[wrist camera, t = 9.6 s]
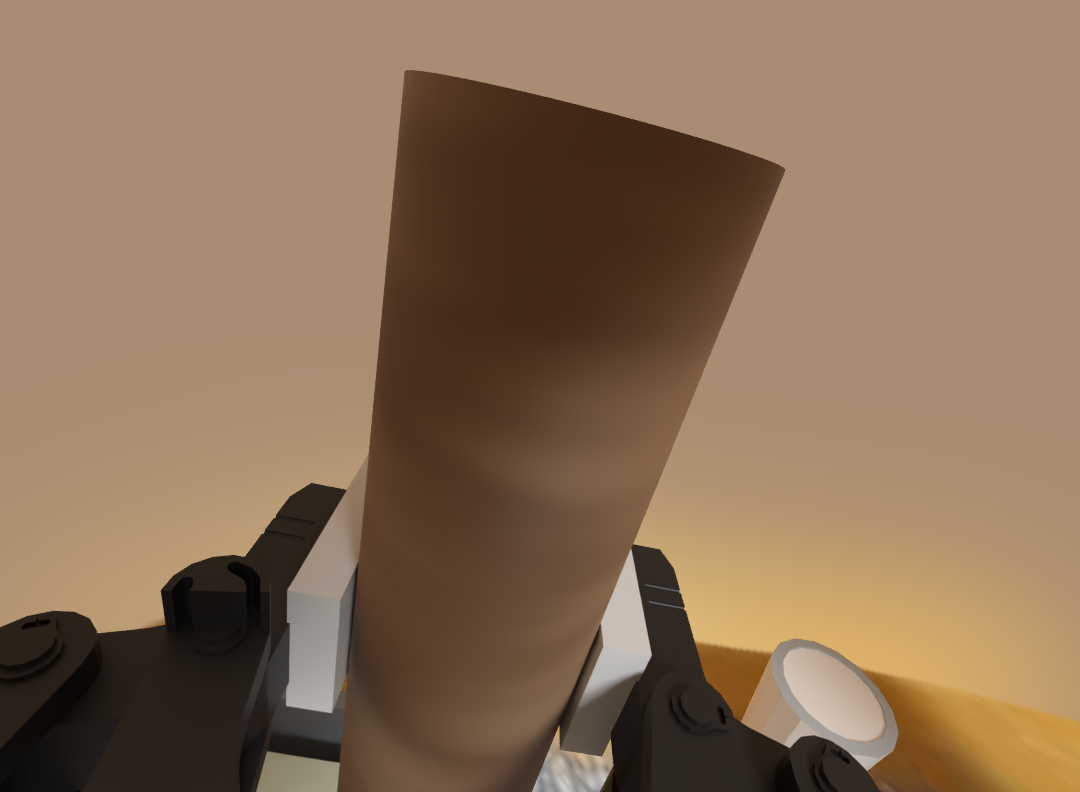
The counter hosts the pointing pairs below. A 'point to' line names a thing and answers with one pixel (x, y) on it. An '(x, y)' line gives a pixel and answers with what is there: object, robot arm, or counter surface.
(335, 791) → the open box
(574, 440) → the peg
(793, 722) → the white cup
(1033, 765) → the counter surface
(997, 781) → the counter surface
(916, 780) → the counter surface
